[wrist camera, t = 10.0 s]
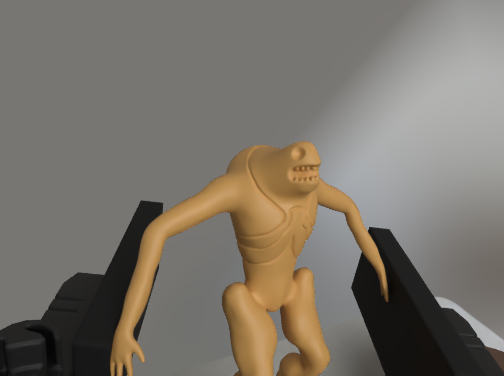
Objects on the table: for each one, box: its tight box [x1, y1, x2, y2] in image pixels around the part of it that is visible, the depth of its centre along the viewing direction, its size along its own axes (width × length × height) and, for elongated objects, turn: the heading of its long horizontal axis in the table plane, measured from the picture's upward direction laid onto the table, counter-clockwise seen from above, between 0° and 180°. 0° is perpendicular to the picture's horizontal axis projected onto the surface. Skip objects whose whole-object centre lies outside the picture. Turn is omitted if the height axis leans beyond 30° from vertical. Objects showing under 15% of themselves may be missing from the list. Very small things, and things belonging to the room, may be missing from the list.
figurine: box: [110, 141, 389, 376], centre depth 11 cm, size 8×6×12 cm
